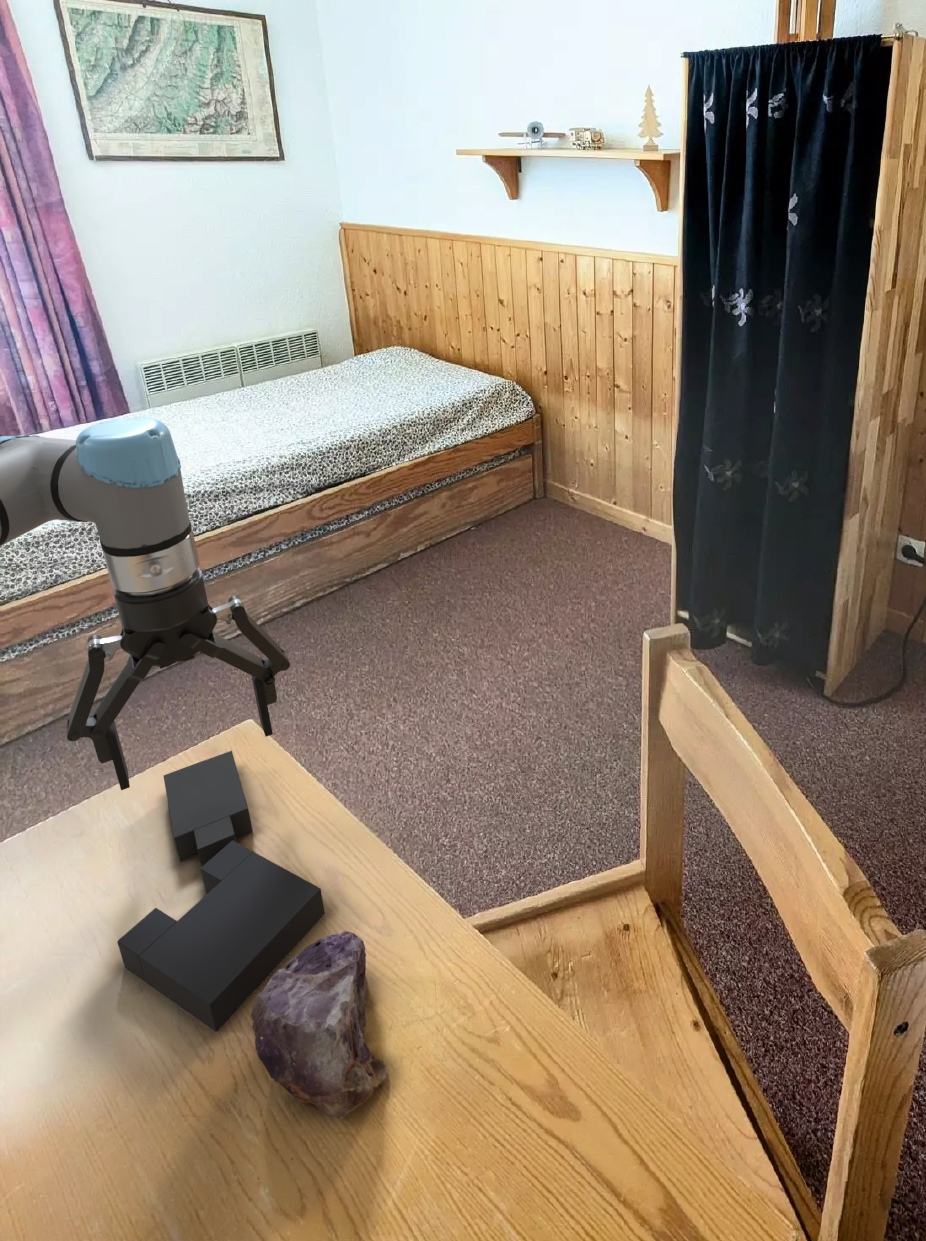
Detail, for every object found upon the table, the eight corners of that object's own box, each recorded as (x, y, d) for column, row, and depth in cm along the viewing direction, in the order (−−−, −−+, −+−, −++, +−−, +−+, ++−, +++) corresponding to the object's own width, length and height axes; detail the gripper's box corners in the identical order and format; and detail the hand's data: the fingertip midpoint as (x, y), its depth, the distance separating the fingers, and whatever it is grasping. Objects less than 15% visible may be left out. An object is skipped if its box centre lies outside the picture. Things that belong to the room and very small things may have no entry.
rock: (386, 989, 71) (266, 1019, 68) (380, 906, 69) (255, 934, 66) (389, 1120, 60) (245, 1163, 57) (381, 1026, 58) (232, 1065, 55)
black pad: (170, 803, 89) (163, 775, 88) (237, 777, 93) (231, 750, 91) (184, 888, 79) (177, 858, 78) (259, 855, 83) (253, 826, 81)
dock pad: (126, 973, 71) (116, 941, 70) (238, 869, 81) (232, 840, 80) (217, 1038, 66) (209, 1005, 64) (325, 919, 76) (320, 888, 74)
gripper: (-5, 639, 67) (57, 831, 74) (301, 557, 80) (328, 728, 87) (0, 599, 73) (57, 780, 80) (284, 529, 86) (311, 691, 93)
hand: (198, 753), depth 84 cm, fingers open, 13 cm apart
